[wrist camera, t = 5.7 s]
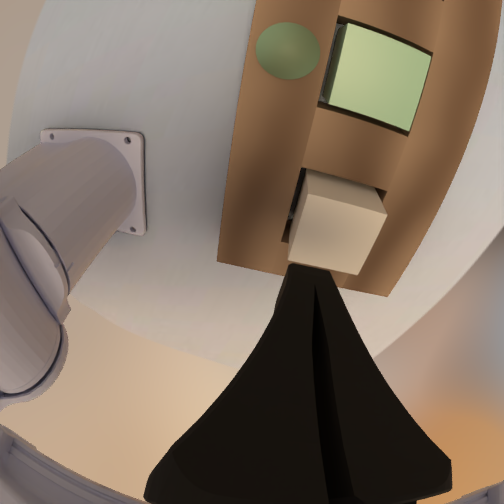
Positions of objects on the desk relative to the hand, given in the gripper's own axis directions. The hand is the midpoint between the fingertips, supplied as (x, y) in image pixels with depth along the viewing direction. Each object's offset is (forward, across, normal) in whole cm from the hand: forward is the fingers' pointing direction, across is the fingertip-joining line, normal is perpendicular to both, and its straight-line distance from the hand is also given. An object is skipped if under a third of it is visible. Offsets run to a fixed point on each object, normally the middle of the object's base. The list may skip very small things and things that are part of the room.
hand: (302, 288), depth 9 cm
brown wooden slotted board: (+9, -2, -7) cm, 12 cm away
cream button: (+8, -2, +1) cm, 8 cm away
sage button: (+9, -2, -7) cm, 12 cm away
